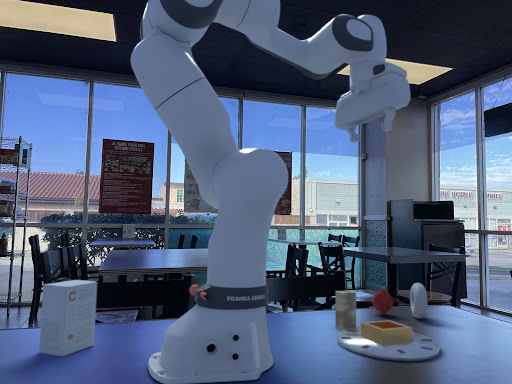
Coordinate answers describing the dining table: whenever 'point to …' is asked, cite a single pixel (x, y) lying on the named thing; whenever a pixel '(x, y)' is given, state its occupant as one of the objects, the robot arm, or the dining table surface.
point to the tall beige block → (345, 309)
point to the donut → (418, 300)
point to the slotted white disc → (388, 341)
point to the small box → (68, 317)
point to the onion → (382, 301)
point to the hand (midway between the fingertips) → (370, 136)
